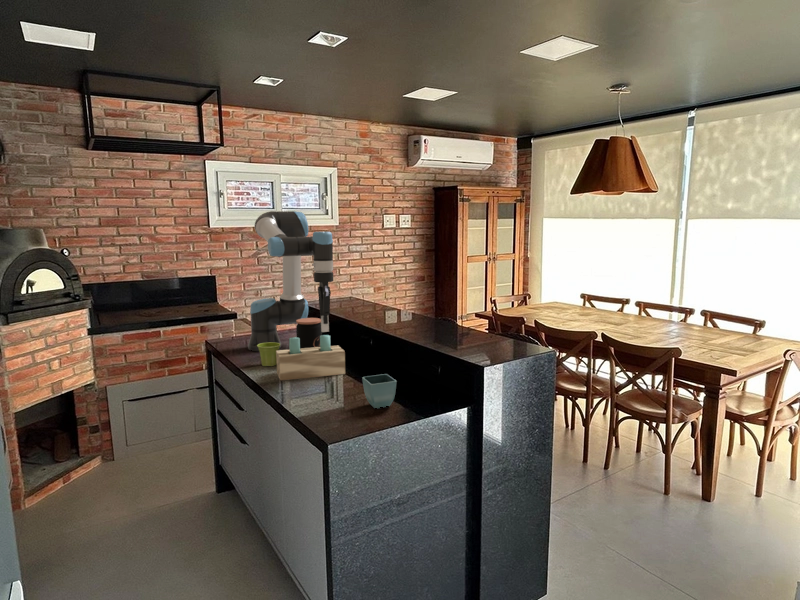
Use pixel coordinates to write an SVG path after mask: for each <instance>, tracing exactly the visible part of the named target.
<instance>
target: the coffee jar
mask: <svg viewBox="0 0 800 600" xmlns="http://www.w3.org/2000/svg"><path fill="white" fill-rule="evenodd" d="M296 323H297V324H296V326H295V328H296V337H298V338H300V349H302V348H314V347H320V336H322V335H323V332H321V318H318V317H307V318H302V319H298V320H296Z"/></svg>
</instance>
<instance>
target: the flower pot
mask: <svg viewBox="0 0 800 600" xmlns="http://www.w3.org/2000/svg"><path fill="white" fill-rule="evenodd" d="M361 378H362V379H361V381H362V386H363V392H364V395H365V398H366V400H367V402H368V403H369V404H370V406H372V407H373V409H375V408H377V409H381V408H380V407H383V408H387V407H386V406H389V407H390V406H391V405H392V403H393V401H394V400H395V395H396V389H397V382H398V381H397V380H396V379H394V378H393V377H392V376H390V375H389V374H388V373H384V374H382V373H381V374H376V375H367V376H363V377H361Z"/></svg>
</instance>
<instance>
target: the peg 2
mask: <svg viewBox="0 0 800 600" xmlns="http://www.w3.org/2000/svg"><path fill="white" fill-rule="evenodd" d="M330 346H331V335H329V334H322V336H320V352H323V351H331V347H330Z"/></svg>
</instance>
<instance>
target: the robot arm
mask: <svg viewBox="0 0 800 600" xmlns="http://www.w3.org/2000/svg"><path fill="white" fill-rule="evenodd" d="M254 231H255V233H256V234H257V236H259V237H260V238H262V239H264V240H265V241H266V243H267V251H268V255H269V256H271V257H279V258H280V257H282V294H281V295H280V296H279V300H276V299H275V297H274V298H273V297H270V298H269V297H268V298H267V297H266V298H262V299H257V300H254V301H253V302H252V303H251V304H250V308H249V309H250V311H249V313H250V327H251V329H250V330H251V334H250V337H249V341H248V343H247V349H248V350H249V351H251V350H252V352H260V351H259V349H258V347H257V345H258V344H260V343H268V342H275V343H280V346H279V349H281V348H282V342H281V340H280V337H279V334H278V331H277V326H285V325H297V323H296V320H298V319H302V318H308V315H309V303H308V300H307V299H306V298H305V295H303V294H302V256H303V257H305V256H306V257H309V256H312V257H313V258H312V260H313V263H312V264H311V265H312V266H313V282H315V283H318V284H319V286H318V287H317V293H318V305H319V307H318V308H319V313H320V314H319V316H320V319H321V323H320V324H321V332H322V333H327V332H330V322H329V320H330V319H329V316H330V313H331V295H332V294H331V286H330V285H329V283H331V282H334V272H333V271H334V256H333V255H334V253H333V252H334V250H333V249H334V248H333V245H334V240H333V233H332V232H331V231H314V232H313V233H312V236H308V235H309V223H308V220H307V217H306V215H305V214H304V213H303V212H301V211H295V210H294V211H293V210H292V211H291V210H288V211H285V210H283V211H282V210H281V211H275V210H271V211H266V212H264V213H262V214H261V215H259V216H258V217H257V218H256V220H255V222H254Z"/></svg>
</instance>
